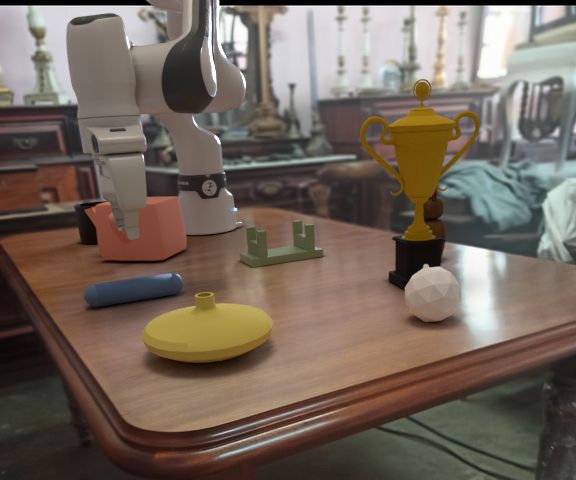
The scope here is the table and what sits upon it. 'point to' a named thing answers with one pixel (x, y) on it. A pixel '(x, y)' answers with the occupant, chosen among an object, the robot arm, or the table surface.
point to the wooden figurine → (435, 217)
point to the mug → (86, 223)
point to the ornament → (432, 294)
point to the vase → (207, 331)
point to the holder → (264, 256)
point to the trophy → (418, 176)
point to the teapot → (142, 231)
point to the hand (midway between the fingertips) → (127, 234)
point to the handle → (133, 289)
